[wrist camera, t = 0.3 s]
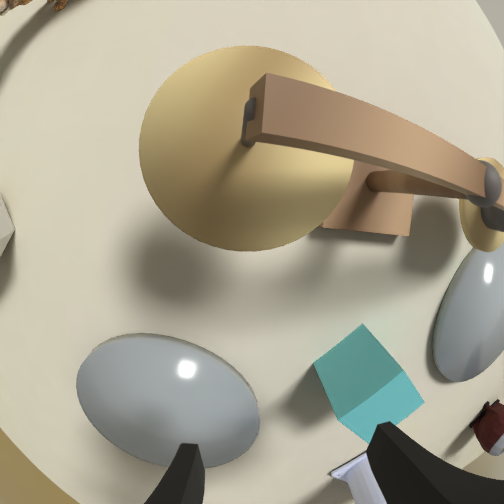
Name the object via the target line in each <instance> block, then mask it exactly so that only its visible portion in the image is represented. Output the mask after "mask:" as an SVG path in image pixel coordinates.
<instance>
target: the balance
mask: <svg viewBox="0 0 504 504" xmlns="http://www.w3.org/2000/svg"><path fill="white" fill-rule="evenodd" d="M139 157H140V166H141V170H142V174H143V178H144V181H145V183H146V186H147V188H148V191H149V193H150V195H151V196H152V198H153V200H154V202H155V203H156V205H157V206H158V207H159V209H160V210H161V211H162V213H163V214H164V215H165V216H166V217H167V218H168V219H169V220H170V221H171V222H172V223H173V224H174V225H175V226H177V227H178V228H179V229H181V230H182V231H183V232H185V233H186V234H188V235H189V236H191V237H193V238H195V239H197V240H198V241H201V242H203V243H206V244H208V245H211V246H214V247H218V248H222V249H226V250H233V251H261V250H269V249H273V248H277V247H280V246H284V245H286V244H289V243H291V242H293V241H296V240H298V239H300V238H301V237H303V236H305V235H307V234H308V233H310V232H311V231H312V230H314V229H315V228H316V227H318V226H321V227H323V228H332V229H343V230H354V231H364V232H373V233H383V234H392V235H401V236H409V233H410V225H411V217H412V208H413V198H414V194H416V195H428V196H438V197H448V198H457V199H459V211H460V219H461V224H462V228H463V231H464V234H465V236H466V238H467V240H468V242H469V243H470V244H471V245H472V246H473V247H474V248H476V249H478V250H481V251H484V252H493V251H495V250H496V249H498V248H499V247H500V246H501V245H502V243H503V242H504V168H503V166H502V165H501V164H500V163H499V162H498V161H496V160H495V159H493V158H478V159H475V158H473V157H472V156H470V155H469V154H467V153H465V152H464V151H462V150H461V149H459V148H457V147H456V146H454V145H452V144H451V143H449V142H447V141H446V140H444V139H442V138H440V137H438V136H437V135H435V134H433V133H431V132H429V131H427V130H425V129H424V128H422V127H420V126H418V125H416V124H414V123H412V122H410V121H408V120H405V119H403V118H401V117H399V116H397V115H395V114H392V113H390V112H388V111H386V110H383V109H381V108H379V107H376V106H374V105H371V104H369V103H366V102H364V101H361V100H358V99H356V98H353V97H350V96H347V95H345V94H342V93H339V92H336V90H335V89H334V88H333V87H332V85H331V84H330V83H329V82H328V81H327V80H326V79H325V78H324V77H323V76H322V75H321V74H320V73H319V72H318V71H317V70H315V69H314V68H313V67H311V66H310V65H309V64H307V63H305V62H304V61H302V60H300V59H298V58H297V57H294V56H292V55H290V54H287V53H285V52H282V51H278V50H275V49H271V48H266V47H259V46H235V47H227V48H223V49H218V50H214V51H212V52H209V53H206V54H203V55H201V56H199V57H197V58H195V59H193V60H191V61H189V62H188V63H186V64H185V65H183V66H182V67H181V68H179V69H178V70H177V71H176V72H174V73H173V74H172V75H171V76H170V77H169V78H168V79H167V80H166V81H165V82H164V83H163V85H162V86H161V87H160V88H159V90H158V91H157V93H156V94H155V96H154V97H153V99H152V100H151V103H150V105H149V107H148V109H147V111H146V113H145V116H144V120H143V123H142V127H141V132H140V138H139Z"/></svg>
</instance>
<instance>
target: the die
mask: <svg viewBox="0 0 504 504" xmlns="http://www.w3.org/2000/svg"><path fill="white" fill-rule="evenodd" d="M14 231H15V228H14V226H13V223H12V221H11V219H10V216H9V214H8V212H7V209H6V207H5V204H4V202H3V199H2V197H1V194H0V257H1V255H2V253H3V251H4V249H5V247H6V245H7V243H8V241H9V239H10V238H11V236H12V234H13V232H14Z"/></svg>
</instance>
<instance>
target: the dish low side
mask: <svg viewBox="0 0 504 504" xmlns="http://www.w3.org/2000/svg"><path fill="white" fill-rule="evenodd" d="M432 349H433V358H434V362H435V365H436V367H437V368H438V370H439V371H440V372H441V373H442V374H443V375H444V376H445V377H446V378H447V379H449V380H451V381H453V382H463V381H467V380H469V379H472V378H474V377H475V376H477V375H479V374H480V373H482V372H483V371H484V370H485V369H487V368H488V367H489V366H490V365H491V364H492V363H493V362H494V361H495V360H496V359H497V357H498V356H499V355H500V354H501V353H502V351H503V350H504V242H503V243H502V245H501V246H500V247H499V248H498V249H496V250H495V251H493V252H484V251H481V250H478V249H476V248H473V249H472V250H471V251H470V252H469V254H468V255H467V256H466V258H465V259H464V260H463V262H462V263H461V265H460V267H459V268H458V270H457V271H456V273H455V275H454V277H453V279H452V281H451V283H450V285H449V287H448V289H447V291H446V294H445V296H444V299H443V301H442V304H441V307H440V310H439V313H438V316H437V320H436V324H435V329H434V334H433V344H432Z"/></svg>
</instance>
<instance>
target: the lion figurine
mask: <svg viewBox="0 0 504 504" xmlns="http://www.w3.org/2000/svg"><path fill="white" fill-rule="evenodd" d="M31 1H32V0H0V15H1V16H3V15H5V14H6V13H7V12H8V11H9V10H11V9H13V8H15V7H16V6H18V5H26V4H28V3H29V2H31ZM47 1H48V2H51V1H53V0H47ZM56 1H57V3H56V4H55V7H54V10H61V9H63V8H64V6H65V5H66V3H67V0H56Z"/></svg>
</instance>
